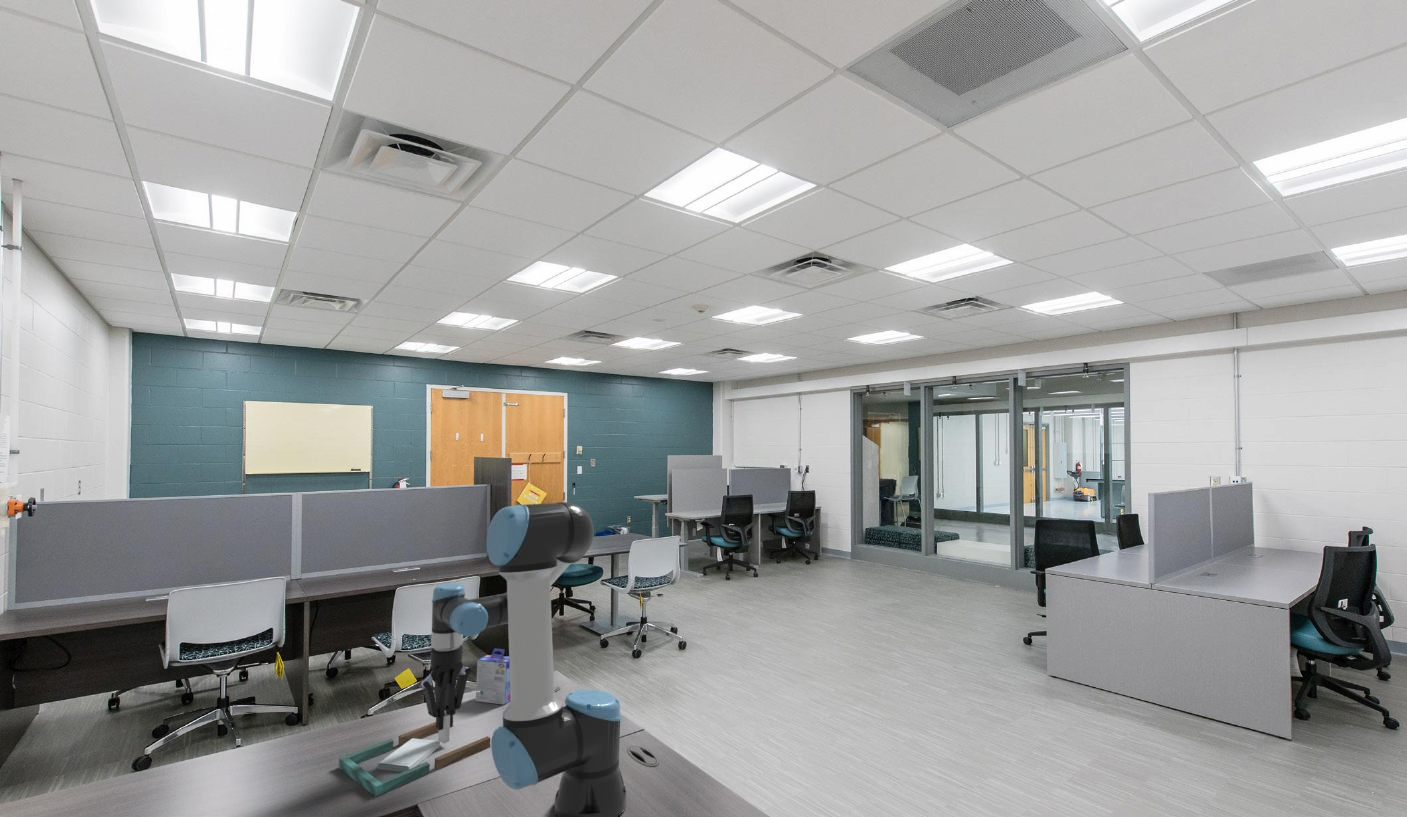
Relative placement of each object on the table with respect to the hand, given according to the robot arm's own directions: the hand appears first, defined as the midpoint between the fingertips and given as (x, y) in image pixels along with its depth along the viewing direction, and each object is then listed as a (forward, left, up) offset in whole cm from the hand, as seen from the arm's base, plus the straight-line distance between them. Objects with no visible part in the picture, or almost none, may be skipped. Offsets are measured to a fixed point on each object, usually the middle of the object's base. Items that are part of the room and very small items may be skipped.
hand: (443, 740), depth 154 cm
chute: (0, +7, -1) cm, 7 cm away
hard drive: (+1, +8, -2) cm, 8 cm away
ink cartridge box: (+14, -24, -2) cm, 28 cm away
